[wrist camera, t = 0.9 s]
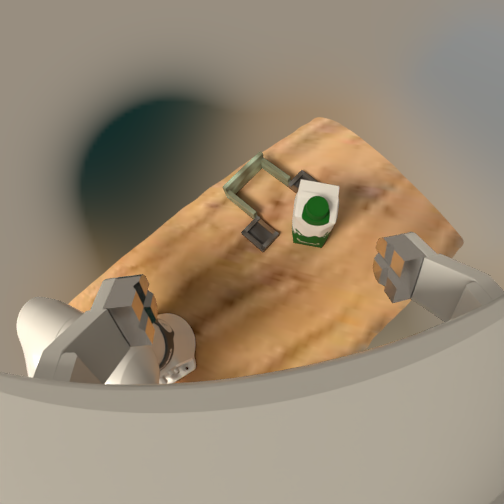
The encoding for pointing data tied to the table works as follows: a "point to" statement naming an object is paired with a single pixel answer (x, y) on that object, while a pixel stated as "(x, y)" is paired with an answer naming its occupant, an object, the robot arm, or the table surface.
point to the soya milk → (314, 212)
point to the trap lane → (257, 228)
